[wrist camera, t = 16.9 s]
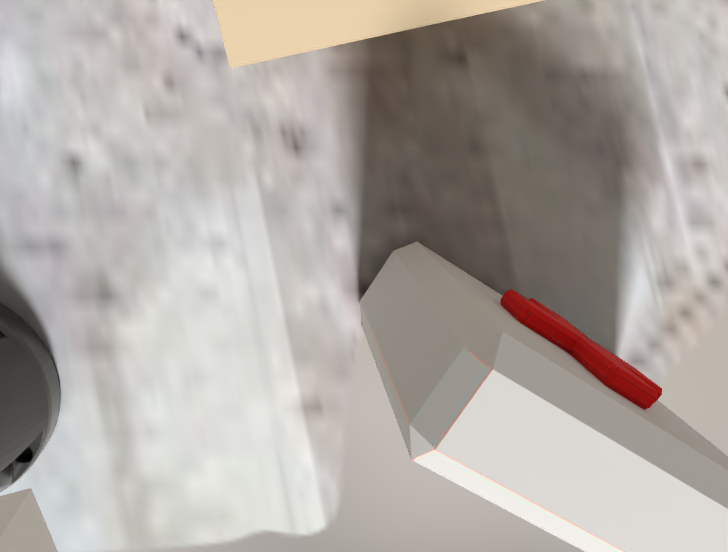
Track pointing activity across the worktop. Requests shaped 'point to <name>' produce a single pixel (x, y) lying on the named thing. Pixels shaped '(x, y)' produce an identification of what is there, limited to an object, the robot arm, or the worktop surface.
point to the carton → (329, 22)
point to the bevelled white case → (538, 414)
